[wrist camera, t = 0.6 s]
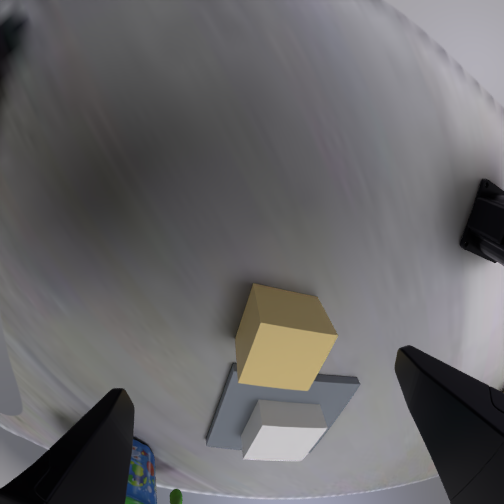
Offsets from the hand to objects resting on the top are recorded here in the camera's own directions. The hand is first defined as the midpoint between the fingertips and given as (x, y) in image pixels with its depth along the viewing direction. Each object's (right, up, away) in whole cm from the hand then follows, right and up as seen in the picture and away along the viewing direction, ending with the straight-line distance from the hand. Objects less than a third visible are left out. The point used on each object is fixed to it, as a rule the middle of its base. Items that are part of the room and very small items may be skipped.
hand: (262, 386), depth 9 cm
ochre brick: (+1, -1, +14) cm, 14 cm away
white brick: (+2, -12, +17) cm, 21 cm away
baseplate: (+2, -12, +18) cm, 22 cm away
